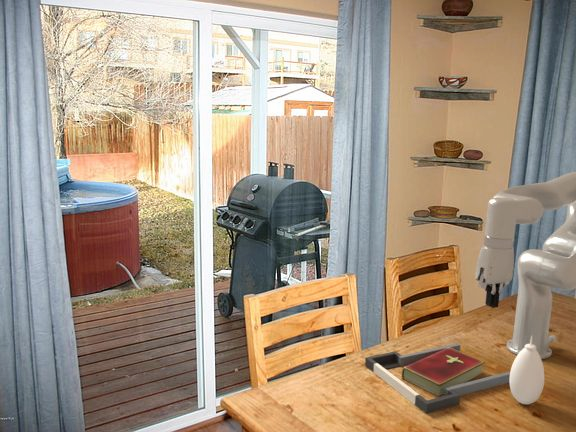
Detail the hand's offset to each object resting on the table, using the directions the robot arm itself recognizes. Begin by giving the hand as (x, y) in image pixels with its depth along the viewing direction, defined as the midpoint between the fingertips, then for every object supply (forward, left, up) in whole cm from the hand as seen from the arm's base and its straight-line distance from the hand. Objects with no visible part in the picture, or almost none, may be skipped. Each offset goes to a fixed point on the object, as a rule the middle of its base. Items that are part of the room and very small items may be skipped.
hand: (491, 305), depth 150 cm
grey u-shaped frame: (+16, 0, -18) cm, 24 cm away
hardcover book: (+16, 0, -19) cm, 24 cm away
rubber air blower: (+6, +19, -18) cm, 27 cm away
